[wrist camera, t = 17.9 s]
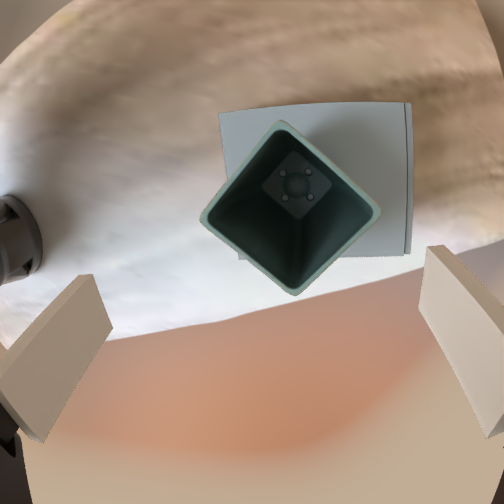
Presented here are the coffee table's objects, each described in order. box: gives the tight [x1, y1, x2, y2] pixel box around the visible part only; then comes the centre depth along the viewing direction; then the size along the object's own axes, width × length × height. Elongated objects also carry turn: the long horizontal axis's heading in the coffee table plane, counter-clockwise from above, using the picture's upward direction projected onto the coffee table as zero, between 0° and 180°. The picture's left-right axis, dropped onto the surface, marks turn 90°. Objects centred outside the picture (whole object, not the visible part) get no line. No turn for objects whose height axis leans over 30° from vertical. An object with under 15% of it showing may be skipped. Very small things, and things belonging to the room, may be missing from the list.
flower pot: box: [200, 120, 382, 296], centre depth 24 cm, size 9×9×9 cm
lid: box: [218, 102, 414, 260], centre depth 28 cm, size 17×14×2 cm
